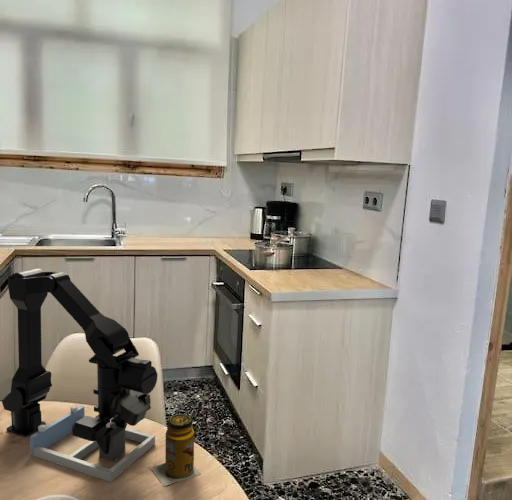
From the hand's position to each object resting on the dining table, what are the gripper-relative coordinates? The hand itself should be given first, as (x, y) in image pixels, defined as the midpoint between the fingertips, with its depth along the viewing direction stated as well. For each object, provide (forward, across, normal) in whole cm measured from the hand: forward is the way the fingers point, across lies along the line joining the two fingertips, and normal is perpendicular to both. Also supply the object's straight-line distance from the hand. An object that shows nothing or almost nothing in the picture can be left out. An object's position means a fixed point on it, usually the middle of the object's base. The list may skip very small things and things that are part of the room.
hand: (112, 448), depth 114 cm
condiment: (+2, +1, -16) cm, 16 cm away
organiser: (+2, 0, +5) cm, 5 cm away
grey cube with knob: (+2, 0, 0) cm, 2 cm away
